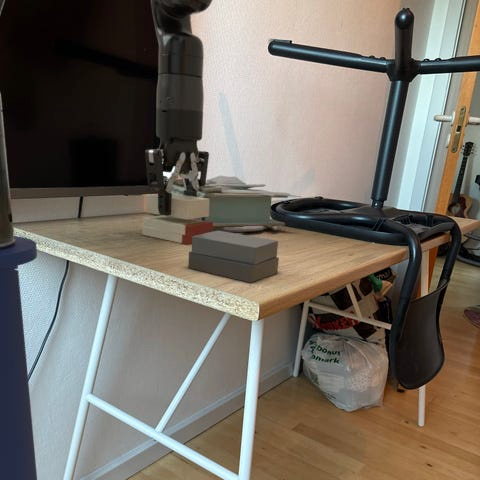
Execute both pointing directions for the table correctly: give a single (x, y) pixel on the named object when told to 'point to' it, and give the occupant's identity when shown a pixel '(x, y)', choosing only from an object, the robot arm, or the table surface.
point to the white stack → (175, 228)
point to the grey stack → (234, 255)
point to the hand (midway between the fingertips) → (177, 213)
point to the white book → (181, 206)
